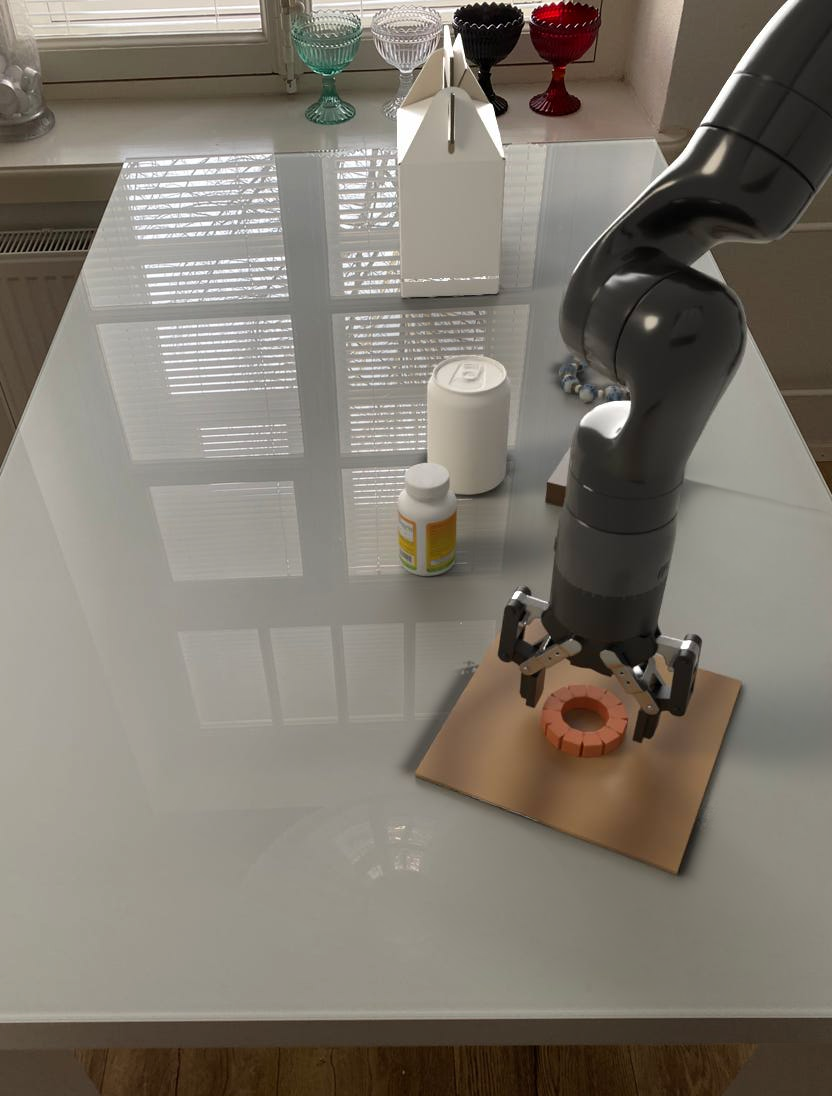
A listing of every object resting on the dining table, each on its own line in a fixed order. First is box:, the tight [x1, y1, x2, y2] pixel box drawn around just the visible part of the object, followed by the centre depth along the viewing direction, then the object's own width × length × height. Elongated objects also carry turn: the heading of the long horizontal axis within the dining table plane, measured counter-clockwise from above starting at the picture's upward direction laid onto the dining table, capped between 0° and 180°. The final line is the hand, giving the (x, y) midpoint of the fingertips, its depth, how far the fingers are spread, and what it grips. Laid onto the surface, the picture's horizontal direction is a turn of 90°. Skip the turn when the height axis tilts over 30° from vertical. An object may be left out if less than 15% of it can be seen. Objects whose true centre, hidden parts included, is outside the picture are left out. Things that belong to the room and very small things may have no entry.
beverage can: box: [426, 354, 512, 496], centre depth 100 cm, size 8×8×12 cm
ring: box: [541, 684, 628, 757], centre depth 78 cm, size 6×6×1 cm
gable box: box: [396, 25, 507, 297], centre depth 132 cm, size 22×13×28 cm, turn 179°
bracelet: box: [558, 356, 630, 403], centre depth 115 cm, size 10×10×2 cm
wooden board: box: [414, 618, 743, 876], centre depth 78 cm, size 20×20×1 cm
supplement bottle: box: [397, 462, 458, 577], centre depth 91 cm, size 5×5×10 cm
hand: (585, 716), depth 77 cm, fingers open, 8 cm apart
